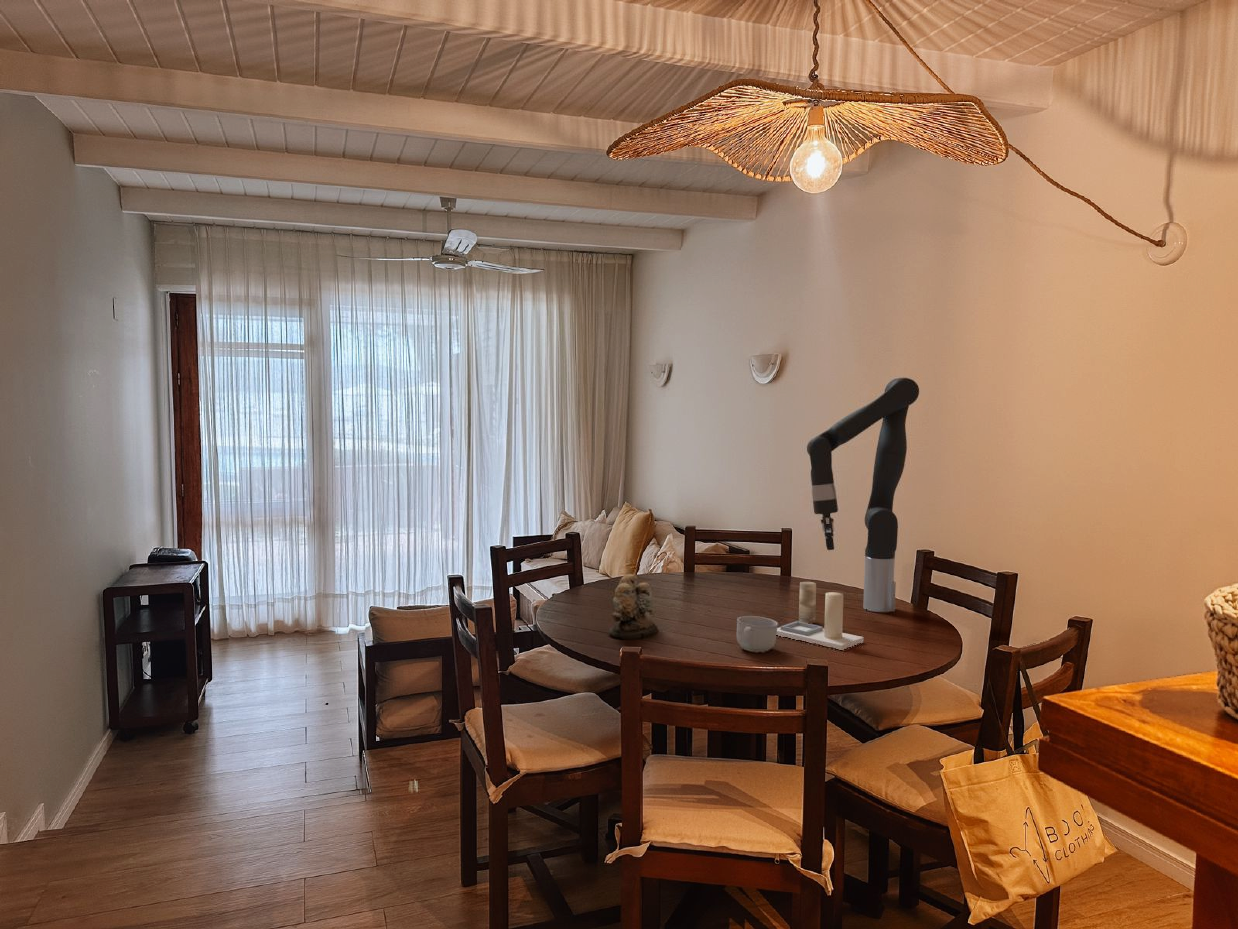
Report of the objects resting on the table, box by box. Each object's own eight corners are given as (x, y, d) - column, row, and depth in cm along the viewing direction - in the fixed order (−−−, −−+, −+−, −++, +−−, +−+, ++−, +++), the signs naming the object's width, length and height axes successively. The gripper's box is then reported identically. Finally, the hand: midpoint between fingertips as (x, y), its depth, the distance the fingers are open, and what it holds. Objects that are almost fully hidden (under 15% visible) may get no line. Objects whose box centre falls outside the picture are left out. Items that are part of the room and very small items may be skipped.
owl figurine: (632, 643, 226) (632, 582, 225) (597, 637, 232) (597, 577, 231) (666, 629, 240) (667, 571, 239) (633, 623, 247) (633, 567, 246)
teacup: (749, 641, 229) (750, 613, 228) (784, 649, 222) (785, 619, 222) (722, 652, 218) (722, 622, 218) (758, 660, 211) (759, 630, 211)
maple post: (813, 620, 253) (814, 582, 252) (816, 624, 248) (817, 585, 248) (797, 620, 253) (798, 581, 253) (800, 624, 249) (801, 584, 248)
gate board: (771, 634, 236) (773, 588, 235) (794, 627, 245) (795, 582, 244) (841, 651, 221) (843, 601, 220) (863, 642, 230) (864, 594, 229)
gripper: (837, 498, 259) (843, 549, 258) (835, 496, 272) (841, 545, 272) (812, 500, 260) (818, 551, 260) (812, 499, 274) (818, 548, 273)
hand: (830, 548), depth 266 cm, fingers open, 8 cm apart
